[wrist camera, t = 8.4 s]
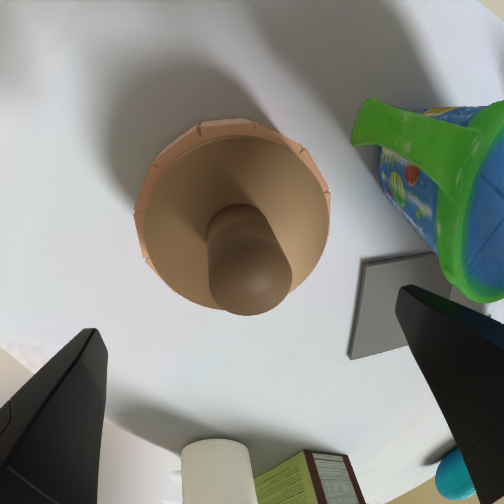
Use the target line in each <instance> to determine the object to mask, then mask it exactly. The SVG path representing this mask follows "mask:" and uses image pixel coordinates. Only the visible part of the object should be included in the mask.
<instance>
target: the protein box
mask: <svg viewBox="0 0 504 504" xmlns="http://www.w3.org/2000/svg"><path fill="white" fill-rule="evenodd" d="M254 485H255V491H256V496H257V502H258V504H366V503H365V500H364V497H363V495H362V492H361V489H360V487H359V484H358V482H357V479H356V476H355V473H354V471H353V468H352V465H351V463H350V460H349V458H348V456H347V455H338V454H328V453H320V452H312V451H305V450H302V451H301V452H299V453H298V454H296V455H294V456H293V457H291V458H289V459H288V460H286V461H284V462H283V463H281V464H279V465H278V466H276V467H274V468H272V469H271V470H269V471H267V472H265V473H264V474H262V475H260V476H258V477H256V478H254Z"/></svg>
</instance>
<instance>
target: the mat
mask: <svg viewBox="0 0 504 504" xmlns="http://www.w3.org/2000/svg"><path fill="white" fill-rule="evenodd" d="M409 284H413V285H416V286H418V287H420V288H423V289H425V290H427V291H430V292H432V293H435V294H437V295H439V296H442V297H444V298H446V299H448V297H449V294H450V290H451V287H452V284H451V283H450V282H449V281H448V280H447V279H446V278H445V276H444V274H443V271H442V268H441V265H440V262H439V257H438V256H437V255H436V253H435V252H433V253H427V254H421V255H415V256H409V257H402V258H396V259H390V260H383V261H377V262H370V263H364V265H363V273H362V280H361V288H360V295H359V301H358V308H357V314H356V320H355V326H354V331H353V337H352V342H351V348H350V353H349V358H350V360H355V359H359V358H363V357H367V356H371V355H374V354H378V353H382V352H386V351H389V350H393V349H396V348H400V347H403V346H407V345H408V343H407V340H406V338H405V336H404V333H403V331H402V329H401V326H400V324H399V322H398V319H397V317H396V314H395V305H396V300H397V296H398V291H399V289H400V287H401V286H404V285H409Z"/></svg>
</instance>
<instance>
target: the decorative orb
mask: <svg viewBox="0 0 504 504" xmlns="http://www.w3.org/2000/svg"><path fill="white" fill-rule="evenodd" d="M435 483H436V487H437V490H438V491H439V493H440V494H441V495H442V496H444V497H445V498H447V499H451V500H461V499H465V498H468V497H470V496H472V495H473V494H475V493H476V491H475V488H474V485H473V483H472V480H471V478H470V475H469V473H468V470H467V468H466V465H465V463H464V461H463V457H462V455H461V453H460V451H459V448H456V449H455V450H453V451H451V452H450V453H449V454H448V455H446V456H445V457H444V459H443V460H442V461H441V463H440V464H439V466H438V468H437V471H436V477H435Z"/></svg>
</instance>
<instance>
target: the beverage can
mask: <svg viewBox="0 0 504 504" xmlns="http://www.w3.org/2000/svg"><path fill="white" fill-rule="evenodd" d="M181 468H182V496H183V504H258V502H257V496H256V491H255V485H254V479H253V474H252V468H251V462H250V456H249V451H248V449H247V447H246V446H245V445H243V444H241V443H239V442H236V441H232V440H226V439H205V440H201V441H197V442H194V443H191V444H189V445H187V446H186V447H185V448H184V449H183V450H182V452H181Z"/></svg>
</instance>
